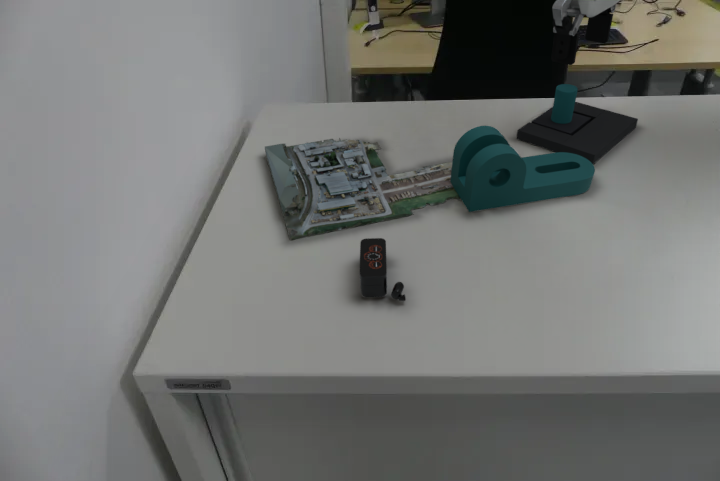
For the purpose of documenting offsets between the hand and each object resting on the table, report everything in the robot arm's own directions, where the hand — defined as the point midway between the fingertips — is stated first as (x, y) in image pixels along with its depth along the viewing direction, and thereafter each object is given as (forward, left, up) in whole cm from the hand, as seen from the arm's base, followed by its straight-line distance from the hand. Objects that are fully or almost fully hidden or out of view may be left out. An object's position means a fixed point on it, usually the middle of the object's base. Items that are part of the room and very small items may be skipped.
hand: (579, 51), depth 78 cm
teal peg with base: (0, -1, -12) cm, 12 cm away
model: (+27, -13, -12) cm, 32 cm away
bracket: (+18, +4, -12) cm, 22 cm away
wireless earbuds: (+44, +2, -12) cm, 46 cm away
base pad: (0, +2, -12) cm, 12 cm away
